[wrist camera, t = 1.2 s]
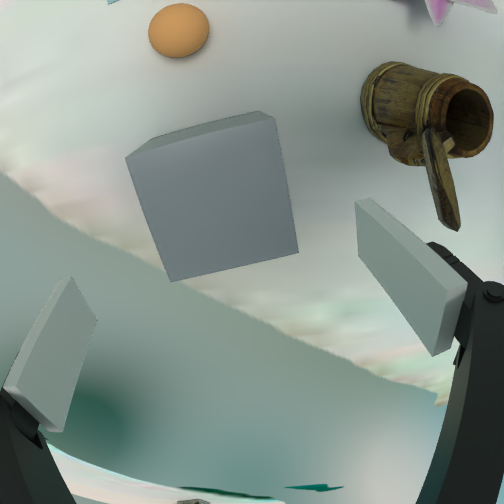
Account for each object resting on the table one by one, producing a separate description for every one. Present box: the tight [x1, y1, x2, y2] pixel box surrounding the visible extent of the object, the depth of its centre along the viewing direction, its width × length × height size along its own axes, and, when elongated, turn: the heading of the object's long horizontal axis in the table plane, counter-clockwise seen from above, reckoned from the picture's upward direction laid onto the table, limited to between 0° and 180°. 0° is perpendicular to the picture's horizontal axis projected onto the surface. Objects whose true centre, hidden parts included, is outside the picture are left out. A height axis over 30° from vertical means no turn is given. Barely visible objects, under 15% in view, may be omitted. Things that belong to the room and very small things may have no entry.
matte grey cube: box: [125, 111, 299, 282], centre depth 26 cm, size 10×10×9 cm
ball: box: [148, 3, 209, 58], centre depth 20 cm, size 5×5×5 cm
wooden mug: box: [361, 62, 494, 232], centre depth 20 cm, size 9×14×18 cm, turn 127°
